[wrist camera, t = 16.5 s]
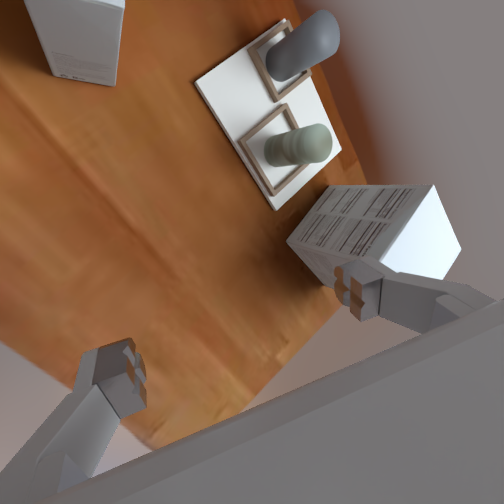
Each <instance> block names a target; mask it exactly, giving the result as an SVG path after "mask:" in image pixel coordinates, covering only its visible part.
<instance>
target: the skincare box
mask: <svg viewBox="0 0 504 504" xmlns="http://www.w3.org/2000/svg"><path fill="white" fill-rule="evenodd" d="M24 2H25V5H26V8H27V10H28V13H29V15H30V18H31V20H32V23H33V25H34V28H35V31H36V33H37V36H38V38H39V41H40V43H41V46H42V48H43V51H44V53H45V56H46V58H47V61H48V63H49V66H50V69H51V71H52V74H53V75H54V76H57V77H63V78H68V79H74V80H80V81H85V82H91V83H96V84H102V85H107V86H115V83H116V74H117V65H118V57H119V47H120V38H121V29H122V20H123V13H124V9H125V0H24Z"/></svg>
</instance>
